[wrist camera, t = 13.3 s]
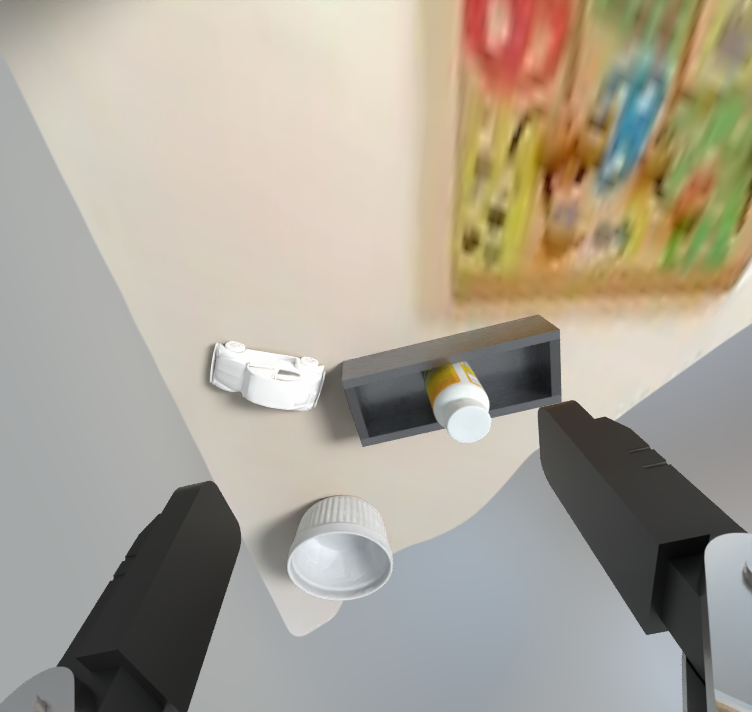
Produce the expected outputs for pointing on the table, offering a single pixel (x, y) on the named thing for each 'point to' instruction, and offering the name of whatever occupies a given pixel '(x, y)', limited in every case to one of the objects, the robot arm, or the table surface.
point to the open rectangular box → (478, 348)
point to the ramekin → (340, 550)
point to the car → (267, 377)
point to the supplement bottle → (458, 401)
